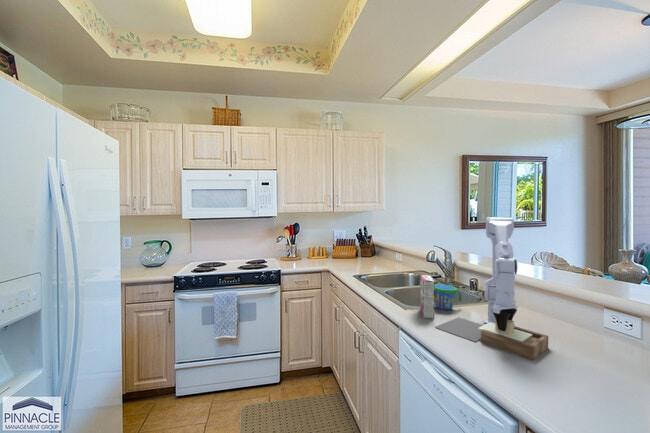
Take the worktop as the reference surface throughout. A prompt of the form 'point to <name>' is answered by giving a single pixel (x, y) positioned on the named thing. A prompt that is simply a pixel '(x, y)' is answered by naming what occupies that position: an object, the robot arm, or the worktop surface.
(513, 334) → the cover plate
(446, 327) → the charcoal mat
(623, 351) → the worktop surface
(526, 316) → the worktop surface
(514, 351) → the walnut box
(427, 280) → the candy bar box
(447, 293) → the snack cup
